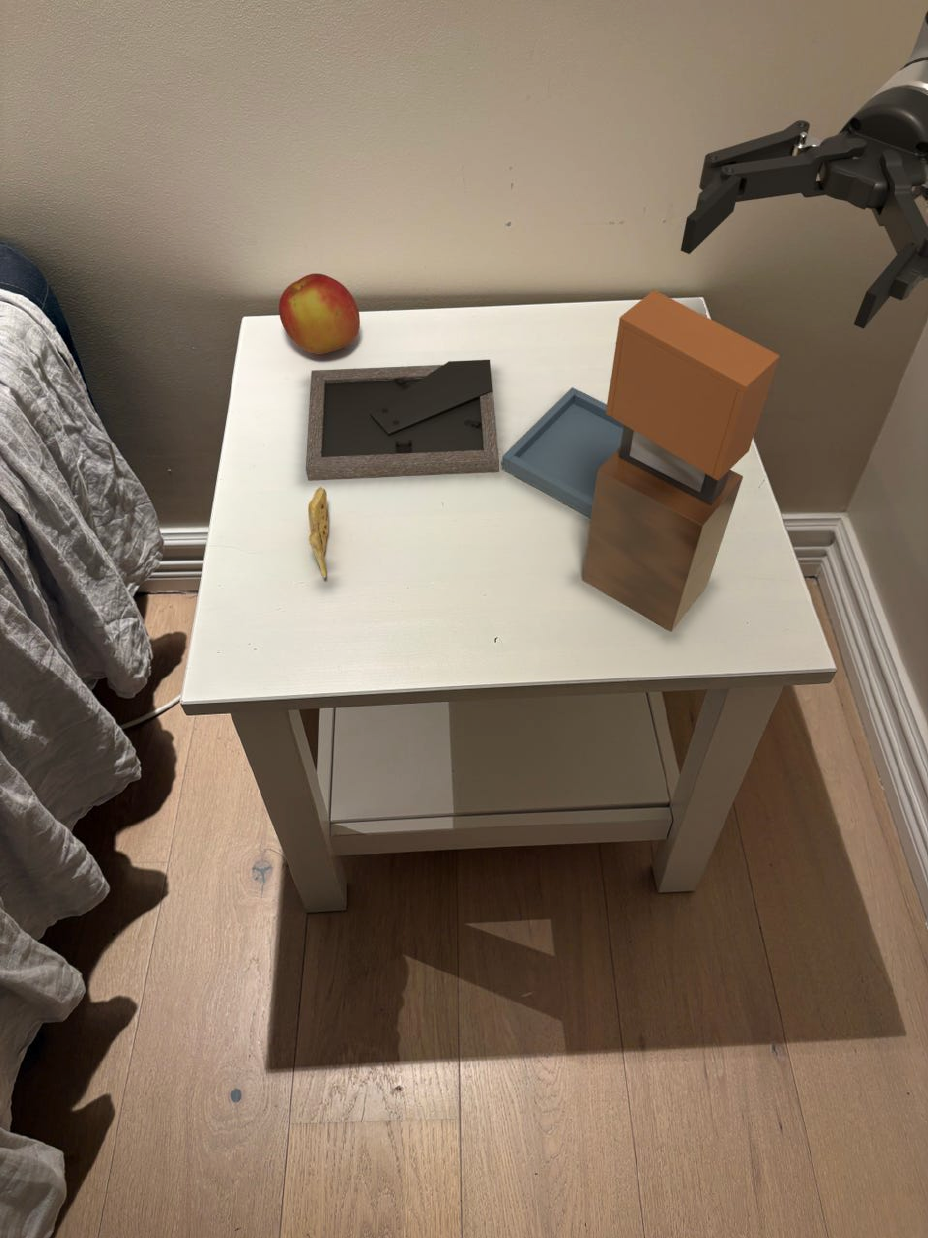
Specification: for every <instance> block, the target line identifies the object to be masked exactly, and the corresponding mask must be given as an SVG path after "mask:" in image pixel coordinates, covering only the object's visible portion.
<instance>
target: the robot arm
mask: <svg viewBox="0 0 928 1238" xmlns="http://www.w3.org/2000/svg"><path fill="white" fill-rule="evenodd" d="M810 128H811V123H810V122H808V121H807V120H804V119H803V120H802V119H799V120H796V121H794V122H793V123H792V124H790V125H789V126H787V127H786V128H784V129H783V130H779V131H776V132H773V133H770V134H767V135H764V136H760V137H756V138H754V139H750V140H747V141H744V142H741V143H737V144H734V145H731V146H728V147H725V148H721V149H718V150H715V151H711V152H708V153H707V154H705V156H704V158H703V159H704V161H703V164H702V169H701V175H700V179H699V184H698V188H699V190H701V191H700V192H699V193H698V197H697V200H696V205H695V209H694V210H693V211H692V212H691V213H690V214H689V215H688V216H687V217H686V220H685V226H684V232H683V236H682V240H681V241H682V242H681V246H680V252H683V253H685V254H687V255H690V254H692V253H693V251H695V250H696V249H697V248H698V247H699V246H700V245H701V244H702V243H703V242H704V241H705V240H706V239H707V238H708V237H710V235H711V234H712V233H713V232H715V230H717V228H718V227H719V226H721V225H722V223H723V222H724V221H725V220H726V219H727V218H729V216H731V214H733V213H734V211H735V207H736V203H740V202H746V201H754V200H761V199H769V198H775V197H781V196H788V195H795V194H801V195H802V196H803V197H804V198H806V199H808V198H815V197H821V196H827V197H830V198H833V199H835V200H839V201H843V202H847V203H848V204H850V205H852V206H854V207H855V208H858V209H861V210H864V211H865V210H866V209H869V210H871V212H872V214H873V216H874V219H875V222H876V223H877V224H878V226H879V227H884V230H885V231H886V233H887V235H888V238H889V240H890V242H891V244H892V246H893V248H894V250H895V253H896V255H895V256H894V258H893V259H892V260H891V261H890V262H889V264H888V265H887V266H886V267H885V269H884V270H883V271H882V272H881V273H880V274H879V275H878V277H877V278H876V279H875V281H874V282H872V284H871V286H870V287H869V288H868V289H867V290H866V291H865V294H864V297H863V299H862V301H861V304H860V307H859V309H858V311H857V314H856V317H855V319H854V322H853V325H854V326H856V327H858V328H861V329H865V328H866V327H867V326H868V325H869V323H870V322H871V321H872V319H873V318H874V317H875V316H876V314H877V313H878V312H879V311H880V310H881V308H882V307H883V306H884V305H885V304H886V302H887V301H888V300H889V298H890V297H892V298H894V299H895V300H898V301H904V300H906V299H908V297H909V296H910V295H911V294H912V293H913V291H914V290H915V289H916V288H917V286H919V284H920V282H922V281H924V280H925V279H928V225H927V222H926V221H925V218H924V216H923V214H922V212H921V210H920V208H919V207H918V204H917V202H916V201H915V200H917V199H918V198H922V199H923V200H924V206H925V207H927V208H926V210H925V214H926V216H928V10H927V12H925V15H924V18H923V21H922V24H921V26H920V29H919V32H918V36H917V37H916V40H915V43H914V45H913V49H912V51H911V54H910V56H909V58H908V59H907V61H906V62H905V64H903V65H902V67H901V68H900V69H898V71H897V72H896V73H895V74H894V75H893V76H891V78H889V80H887V81H886V82H885V83H884V84H883V85H882V86H881V87H880V88H879V89H878V90H877V91H876V92H875V93H874V94H872V96H871V97H870V98H869V99H868V100H867V101H866V102H865V103H864V104H863V105H862V106H861V107H860V108H859V109H858V110H857V111H856V112H855V113H854V114H853V116H851V117H850V119H848V121H846V122H845V124H844V125H843V126H842V128H841V129H840V131H839V132H838V133H837V134H836V135H831V136H829V137H826V138H825V139H821V138H819V137H816V136H814V135H812V134H810V133H809V132H810V131H809V130H810ZM817 178H819V180H817Z"/></svg>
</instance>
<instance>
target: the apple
mask: <svg viewBox="0 0 928 1238" xmlns="http://www.w3.org/2000/svg"><path fill="white" fill-rule="evenodd" d="M278 315H279V319H280V322H281V325H282V326H283V328H284V330H285V332H286V334H287V335H288V337H289V338H290V339H291V340H292V341H293V342H294V344H296V346H297V347H299V348H301V349H302V350H303V351H306V352H308V353H311V354H317V355H325V354H329V353H332V352H334V351H338V350H341V349H344V348H345V347H347V346H349V345H350V344H351V343H353V341H354V340H355V339H356V338H357V336H358V334H359V331H360V326H361V325H360V324H361V319H360V311H359V308H358V305H357V302H356V300H355V299H354V297H353V295H352V294H351V292H350V291H349V290H348V288H347V287H346V286H345V285H344V284H343V283H342V282H340V281H339V280H337V279H335V278H333V277H331V276H329V275H326V274H323V273H310V274H306V275H305V276H303V277H301V278H299V279H297V280H296V281H293V282H292V283H290V284H289V285H288V286H287V287H286V289H284V290H283V292H282V293H281V295H280V299H279V303H278Z"/></svg>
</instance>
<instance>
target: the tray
mask: <svg viewBox="0 0 928 1238" xmlns="http://www.w3.org/2000/svg"><path fill="white" fill-rule="evenodd" d="M606 408H607V403H605V402H603V401H601V400H599V399H597V398H595V397H593V396H591V395H589V394H587V393H585V392H583V391H582V390H579V389H577V388H575V387H570V388H569V389H568V391H566V392H565V394H564V395H563V396H562V397H560V399H558V401H556V402H555V403H554V405H552V406H551V407H550V408H549V410H548V411H546V412H545V413H544V414H543V415H542V416H541V417H540V419H538V420H537V421H536V422H535V423H534V424H533V425H532V426H531V427H530V428H529V429H528V430H527V431H526V432H525V433H524V434H523V435H522V436H521V437H520V438H519V439H518V440H517V441H516V442H515V443H514V444H513V445H512V446H510V448H509V449H508V450H507V451H506V452H505V453H504V454H503V455H502V456H501V457H502V458H501V470H502V471H505V472H506V473H508V474H509V475H512V476H513V477H515V478H517V479H519V480H521V481H522V482H524V483H526V484H528V485H530V486H531V487H533V488H535V489H537V490H539V491H541V492H542V493H544V494H545V495H548V496H549V497H551V498H553V499H555V500H557V501H558V502H560V503H562V504H564V505H566V506H567V507H570V508H571V509H573V510H574V511H577V512H578V513H580V514H582V515H584V516H586V517H587V518H589V519H591V515H592V508H593V501H594V495H595V488H596V481H597V474H598V470H599V468H600V467H601V466H602V465H603V464H604V463H605V462H606V461H607V460H608V459H609V458H610V457H611V456H612V454H613V453H614V452H615V451H616V450H617V449H618V448H619V447H620V444H621V438H622V433H623V427H624V424H622V423H621V422H619V421H617V420H615V419H614V418H612V417H611V416H609V415H607V414H606Z"/></svg>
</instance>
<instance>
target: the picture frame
mask: <svg viewBox="0 0 928 1238" xmlns="http://www.w3.org/2000/svg"><path fill="white" fill-rule="evenodd" d="M491 366H492V365H491V359H470V360H469V359H468V360H449V361H447V362H445V363H444V364H433V365H432V364H431V365H430V364H429V365H412V366H410V365H409V366H407V365H406V366H386V367H385V366H384V367H364V368H363V367H362V368H361V367H359V368H341V369H340V368H339V369H338V368H337V369H317V370H311V373H310V388H309V407H308V421H307V422H308V423H307V439H306V457H305V472H306V476H307V480H308V481H320V480H324V481H325V480H343V479H344V480H345V479H365V478H366V479H368V478H387V477H389V478H390V477H412V476H431V475H452V474H453V475H455V474H457V475H458V474H475V473H477V474H478V473H494V472H495V473H497V472H500V467H499V466H500V458H499V446H498V436H497V435H498V434H497V425H496V413H495V403H494V400H495V399H494V392H493V391H494V389H493V376H492V367H491Z"/></svg>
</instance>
